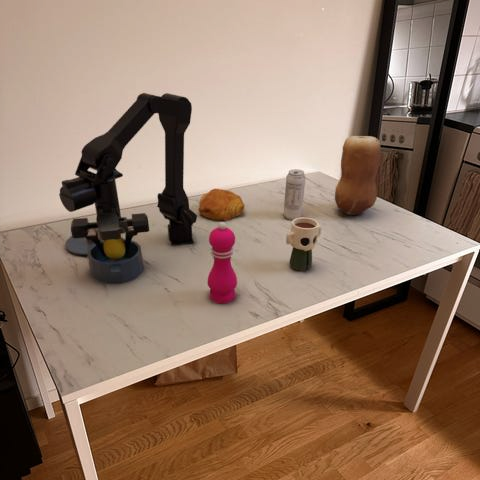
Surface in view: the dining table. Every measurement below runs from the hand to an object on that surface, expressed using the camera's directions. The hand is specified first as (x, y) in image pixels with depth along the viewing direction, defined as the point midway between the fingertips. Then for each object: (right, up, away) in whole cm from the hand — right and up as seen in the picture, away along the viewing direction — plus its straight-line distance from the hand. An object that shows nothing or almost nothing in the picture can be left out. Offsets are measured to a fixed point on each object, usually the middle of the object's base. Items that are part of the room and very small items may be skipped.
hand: (115, 255), depth 120 cm
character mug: (+49, -2, +6) cm, 50 cm away
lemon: (0, -1, +1) cm, 2 cm away
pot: (0, -4, +3) cm, 5 cm away
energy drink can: (+50, +17, +32) cm, 62 cm away
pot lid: (-11, +5, +13) cm, 18 cm away
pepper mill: (+28, -11, -6) cm, 31 cm away
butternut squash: (+71, +19, +35) cm, 81 cm away
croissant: (+26, +19, +33) cm, 46 cm away
